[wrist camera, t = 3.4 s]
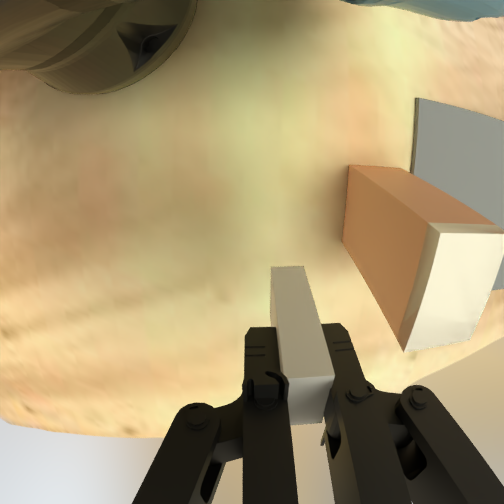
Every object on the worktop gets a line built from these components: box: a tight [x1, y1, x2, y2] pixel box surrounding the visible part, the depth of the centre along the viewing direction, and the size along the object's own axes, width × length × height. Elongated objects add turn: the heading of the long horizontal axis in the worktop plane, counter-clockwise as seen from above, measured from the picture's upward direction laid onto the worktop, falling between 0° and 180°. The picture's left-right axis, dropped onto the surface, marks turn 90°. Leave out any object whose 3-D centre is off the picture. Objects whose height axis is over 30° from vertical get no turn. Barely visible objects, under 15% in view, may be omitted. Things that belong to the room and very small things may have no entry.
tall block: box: [342, 165, 504, 352], centre depth 19 cm, size 7×5×14 cm
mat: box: [411, 98, 504, 290], centre depth 25 cm, size 20×20×1 cm
